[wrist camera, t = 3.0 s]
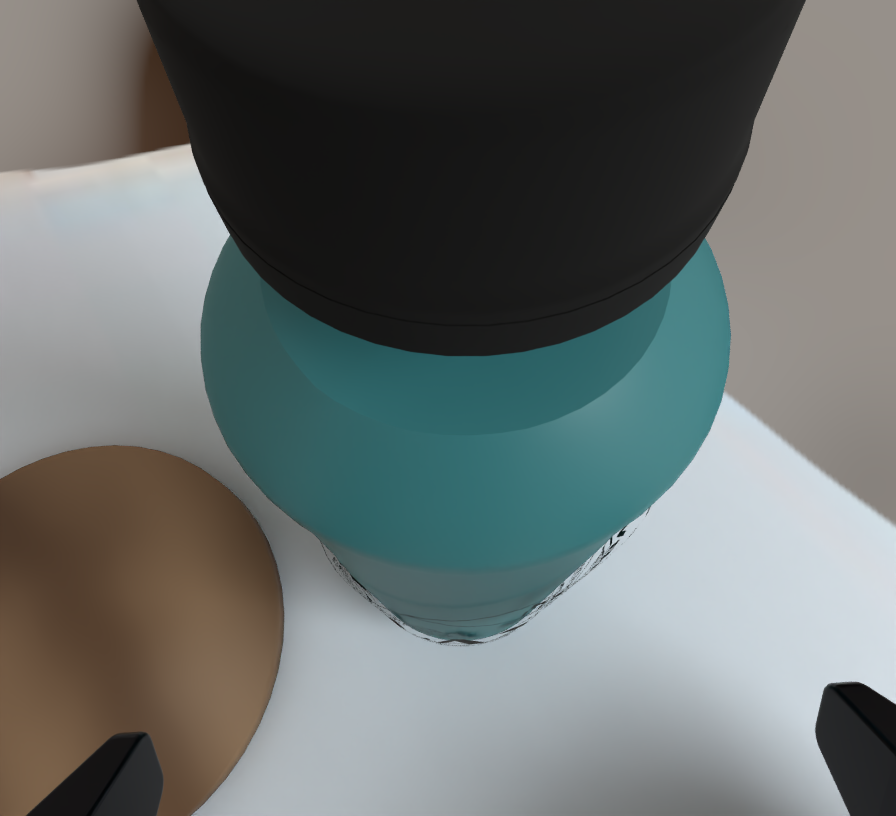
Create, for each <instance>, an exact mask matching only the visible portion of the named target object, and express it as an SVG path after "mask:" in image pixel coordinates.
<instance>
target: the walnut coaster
mask: <svg viewBox="0 0 896 816" xmlns="http://www.w3.org/2000/svg"><path fill="white" fill-rule="evenodd" d="M283 631H284V606H283V595H282V586H281V582H280V577H279V573H278V568H277V564H276V561H275V558H274V556H273V553H272V550H271V548H270V545H269V542H268V540H267V538H266V537H265V535H264V533H263V531H262V529H261V527H260V526H259V524H258V522H257V521H256V519H255V518H254V517H253V515H252V514H251V513H250V511H249V510H248V509H247V507H246V506H245V505H244V504H243V503H242V502H241V501H240V500H239V499H238V498H237V497H236V496H235V495H234V494H233V493H232V492H231V491H230V490H229V489H228V488H227V487H225V486H224V485H223V484H222V483H220V482H219V481H218V480H216V479H215V478H213V477H212V476H211V475H209V474H208V473H206V472H205V471H204V470H202V469H201V468H199V467H197V466H195V465H193V464H191V463H189V462H187V461H185V460H183V459H182V458H179V457H176V456H173V455H170V454H167V453H164V452H161V451H157V450H152V449H147V448H142V447H134V446H117V445H113V446H98V447H88V448H83V449H77V450H72V451H67V452H63V453H60V454H57V455H53V456H50V457H47V458H44V459H41V460H39V461H36V462H34V463H32V464H29V465H27V466H25V467H22V468H20V469H18V470H16V471H14V472H12V473H10V474H9V475H7V476H5V477H3V478H1V479H0V816H26V815H27V814H28V813H29V812H30V811H31V810H32V809H33V808H34V807H35V806H36V805H37V804H39V803H40V802H41V801H42V800H43V799H44V798H45V797H46V796H47V795H48V794H49V793H50V792H51V791H53V790H54V789H55V788H56V787H57V786H58V785H59V784H60V783H61V782H62V781H63V780H64V779H66V778H67V777H68V776H69V775H70V774H71V773H72V772H73V771H74V770H75V769H76V768H77V767H79V766H80V765H81V764H82V763H83V762H84V761H85V760H86V759H87V758H88V757H89V756H90V755H92V754H93V753H94V752H95V751H96V750H97V749H98V748H99V747H100V746H101V745H102V744H103V743H105V742H106V741H107V740H108V739H109V738H110V737H112V736H113V735H115V734H118V733H125V732H139V731H143V732H146V733H148V734H149V735H150V737H151V739H152V742H153V745H154V748H155V751H156V754H157V757H158V760H159V762H160V765H161V768H162V771H163V778H164V785H163V792H162V796H161V800H160V804H159V808H158V812H157V816H191V815H192V814H193V813H194V812H195V811H196V810H198V809H199V808H200V807H201V806H202V805H203V804H204V803H205V802H206V801H207V800H208V799H209V797H210V796H211V795H212V794H213V793H214V792H215V791H216V789H217V788H218V787H219V786H220V785H221V784H222V783H223V782H224V780H225V779H226V778H227V776H228V775H229V774H230V772H231V771H232V769H233V768H234V766H235V765H236V764H237V762H238V761H239V759H240V758H241V756H242V755H243V754H244V752H245V750H246V748H247V746H248V745H249V743H250V741H251V739H252V737H253V735H254V734H255V732H256V730H257V728H258V726H259V724H260V722H261V719H262V717H263V714H264V712H265V710H266V707H267V705H268V702H269V700H270V697H271V694H272V690H273V687H274V683H275V680H276V676H277V673H278V669H279V663H280V657H281V651H282V645H283Z"/></svg>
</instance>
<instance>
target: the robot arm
mask: <svg viewBox="0 0 896 816" xmlns="http://www.w3.org/2000/svg"><path fill="white" fill-rule="evenodd" d="M815 733H816V739H817V742H818V746H819V748H820V750H821V753H822V755H823V757H824V759H825V761H826V764H827V766H828V768H829V770H830V772H831V775H832V777H833V779H834V781H835V783H836V785H837V788H838V790H839V792H840V794H841V796H842V799H843V801H844V803H845V805H846V807H847V810H848V812H849V814H850V816H896V704H894V703H893V702H891V701H890V700H888V699H887V698H885V697H884V696H882V695H880V694H879V693H877V692H876V691H874V690H873V689H871V688H870V687H868V686H866V685H864V684H862V683H860V682H840V683H830V684H828V685H827V686H826V687H825V688H824V691H823V695H822V699H821V704H820V708H819V712H818V717H817V721H816V727H815ZM163 785H164V778H163V771H162V768H161V765H160V762H159V760H158V757H157V754H156V751H155V748H154V745H153V742H152V739H151V737H150V735H149V734H148V733H146V732H143V731H139V732H125V733H118V734H115V735H113V736H112V737H110V738H109V739H108V740H107V741H106V742H105V743H103V744H102V745H101V746H100V747H99V748H98V749H97V750H96V751H95V752H94V753H93V754H92V755H90V756H89V757H88V758H87V759H86V760H85V761H84V762H83V763H82V764H81V765H80V766H79V767H77V768H76V769H75V770H74V771H73V772H72V773H71V774H70V775H69V776H68V777H67V778H66V779H64V780H63V781H62V782H61V783H60V784H59V785H58V786H57V787H56V788H55V789H54V790H53V791H51V792H50V793H49V794H48V795H47V796H46V797H45V798H44V799H43V800H42V801H41V802H40V803H39V804H37V805H36V806H35V807H34V808H33V809H32V810H31V811H30V812H29V813H28V814H27V815H26V816H157V812H158V808H159V804H160V800H161V796H162V792H163Z"/></svg>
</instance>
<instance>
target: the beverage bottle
mask: <svg viewBox="0 0 896 816" xmlns="http://www.w3.org/2000/svg"><path fill="white" fill-rule="evenodd" d="M805 1H806V0H137V2H138V4H139V7H140V10H141V12H142V15H143V17H144V20H145V22H146V24H147V27H148V29H149V32H150V34H151V37H152V39H153V42H154V44H155V46H156V49H157V51H158V54H159V56H160V59H161V61H162V63H163V66H164V69H165V71H166V73H167V76H168V78H169V81H170V83H171V86H172V88H173V91H174V93H175V95H176V98H177V100H178V103H179V105H180V108H181V110H182V113H183V115H184V117H185V120H186V122H187V128H188V133H189V138H190V143H191V148H192V153H193V156H194V159H195V162H196V164H197V167H198V170H199V172H200V175H201V177H202V180H203V183H204V185H205V186H206V189H207V192H208V194H209V196H210V198H211V200H212V202H213V204H214V205H215V207H216V209H217V211H218V213H219V215H220V217H221V219H222V220H223V222H224V224H225V226H226V228H227V230H228V232H229V233H230V236H229V238H228V239H227V241H226V243H225V244H224V246H223V248H222V251H221V253H220V255H219V258H218V260H217V262H216V264H215V267H214V269H213V271H212V275H211V278H210V281H209V285H208V288H207V292H206V295H205V300H204V306H203V313H202V320H201V362H202V369H203V376H204V382H205V389H206V392H207V395H208V399H209V402H210V405H211V408H212V412H213V415H214V418H215V420H216V422H217V424H218V427H219V429H220V431H221V433H222V435H223V437H224V439H225V442H226V444H227V446H228V447H229V449H230V450H231V452H232V453H233V455H234V456H235V458H236V459H237V461H238V462H239V464H240V465H241V467H242V468H243V470H244V471H245V472H246V474H247V475H248V476H249V477H250V478H251V479H252V481H253V482H254V483H255V484H256V485H257V486H258V487H259V488H260V490H261V491H262V492H263V493H264V494H265V495H266V496H267V498H268V499H269V500H271V501H272V502H273V503H274V504H275V505H276V506H277V507H279V508H280V509H281V510H282V511H284V512H285V513H286V514H287V515H288V516H290V517H291V518H292V519H293V520H294V521H296V522H297V523H298V524H299V525H301V526H303V527H304V528H306V529H307V530H309V531H310V532H312V533H313V534H314V535H315V536H316V537H317V538H318V539H319V540H320V542H322V543H323V544H324V545H325V546H326V547H327V548H328V549H329V550H330V551H331V552H332V553H333V554H334V555H335V556H336V557H337V559H338V560H339V562H340V564H342V566H344V567H345V569H346V570H347V571H348V572H349V573H350V575H351V577H352V579H354V580H355V581H356V582H357V583H358V584H359V585H360V586H361V588H362V587H363V588H364V589H365V590H366V589H367V590H368V591H369V592H370V593H371V594H372V595H373V596H374V597H375V598H376V599H378V600H379V601H380V602H381V603H382V604H383V605H384V606H385V607H386V608H387V609H388V610H389V611H390V612H392V613H393V614H394V615H395V616H396V617H397V618H399V619H400V620H401V621H402V622H404V624H406V625H407V626H410V627H411V628H412V629H415V630H417V631H419V632H421V633H424V634H426V635H428V636H432V637H436V638H439V639H445V640H448V641H442V642H438V643H440V644H441V643H445V644H446V643H449V642H452V641H458V642H462V643H465V644H468V646H469V645H470V644H477V643H483V642H478V641H470V640H476V639H482V638H486V637H489V636H493V635H496V634H498V633H499V634H501V633H500V632H502V631H505V630H506V629H508V628H510V627H512V626H513V625H515V624H516V623H518V622H519V621H520V620H522V619H523V618H524V617H525V616H527V615H528V614H530V612H531V611H532V610H533V609H535V607H536V606H538V605H540V604H543V605H544V603H545V604H546V603H547V602H548V601H547V600H546V602H545V601H544V602H542V601H543V600H545V598H546V597H547V596H548V595H549V594H553V593H552V592H554V590H555V589H556V588H557V587H558V586H559V585H560V584H561V583H563V582H564V581H565V580H566V579H567V578H568V577H569V576H570V575H571V574H572V573H573V572H575V571H576V570H577V569H578V568H579V567H580V566H581V565H583V563H584V562H586V561H587V560H588V559H589V558H590V557H591V556H592V555H593V554H595V553H596V552H597V551H598V550H599V549H600V548H601V547H602V546H603V545H604V544H605V543H607V541H608V540H609V539H610V546H611V544H612V536H613V535H614V534H615V533H617V532H618V531H620V530H621V529H622V528H623V529H622V530H621V531H620V532H619V534H618V536H617V537H620V536H623V535H624V533H625V531H626V530H625V531H623V530H624V529H625V527H626V526H627V525H628V524H629V523H631V522H632V521H634V520H635V519H636V518H638V517H639V516H641V515H642V514H643V513H644V512H645V511H646V510H647V509H648V508H649V507H651V505H652V504H653V503H654V502H655V501H657V500H658V499H659V498H660V497H661V496H662V495H663V494H664V493H665V492H666V491H667V490H668V489H669V488H670V487H671V486H672V485H673V484H674V483H675V481H676V480H677V479H678V478H679V476H680V475H681V474H682V473H683V471H684V470H685V469H686V468H687V466H688V465H689V464H690V463H691V461H692V460H693V459H694V457H695V455H696V454H697V452H698V450H699V448H700V447H701V445H702V443H703V442H704V440H705V438H706V436H707V435H708V433H709V431H710V429H711V426H712V424H713V421H714V419H715V416H716V414H717V411H718V409H719V406H720V403H721V400H722V396H723V392H724V387H725V383H726V378H727V373H728V367H729V355H730V339H731V333H730V332H731V331H730V320H729V309H728V302H727V298H726V293H725V289H724V285H723V280H722V276H721V274H720V271H719V268H718V266H717V263H716V260H715V258H714V255H713V253H712V250H711V248H710V246H709V244H708V243H707V241H706V239H705V237H706V235H707V233H708V232H709V230H710V228H711V227H712V225H713V223H714V221H715V220H716V218H717V216H718V214H719V212H720V211H721V209H722V207H723V205H724V203H725V202H726V200H727V198H728V196H729V194H730V193H731V191H732V188H733V186H734V183H735V182H736V180H737V177H738V175H739V172H740V170H741V167H742V165H743V162H744V160H745V157H746V155H747V152H748V148H749V144H750V139H751V134H752V129H753V124H754V120H755V117H756V115H757V113H758V110H759V108H760V106H761V103H762V101H763V98H764V96H765V94H766V92H767V89H768V87H769V85H770V82H771V80H772V78H773V75H774V73H775V71H776V68H777V66H778V64H779V61H780V59H781V57H782V54H783V51H784V50H785V47H786V45H787V43H788V40H789V38H790V36H791V33H792V31H793V29H794V26H795V24H796V22H797V19H798V17H799V15H800V12H801V10H802V8H803V5H804V3H805ZM649 509H650V508H649ZM648 511H649V510H648ZM647 513H648V512H647ZM646 515H647V514H646ZM645 517H646V516H645ZM622 531H623V532H622ZM634 531H635V530H634ZM630 536H631V535H630ZM630 536H629V537H630ZM618 541H619V540H618ZM618 541H617V542H616V543H615V544H613V545H612V546H611V547H610V550H611V548H612V547H613V546H614V545H616V544H617V543H618ZM322 543H321V544H322ZM622 544H623V543H622ZM622 544H621V545H622ZM322 546H323V545H322ZM614 547H615V546H614ZM614 547H613V548H614ZM613 548H612V549H613ZM323 549H324V547H323ZM608 549H609V548H608ZM608 549H607V550H608ZM603 550H604V547H603V549H602V551H603ZM610 550H609V551H610ZM324 551H325V550H324ZM610 552H611V551H610ZM610 552H609V553H610ZM325 553H326V552H325ZM601 553H602V555H603V554H606V553H607V552H606V553H604V551H603V552H601ZM609 553H607V554H606V555H605V556H607V555H608V554H609ZM326 555H327V554H326ZM602 555H601V554H600V556H602ZM605 556H603V557H602V559H603V558H604V557H605ZM592 557H593V556H592ZM334 558H335V557H334ZM334 558H333V559H334ZM328 559H329V558H328ZM600 559H601V558H600ZM600 559H599V560H600ZM602 559H601V560H602ZM334 560H336V559H334ZM334 560H333V561H334ZM590 560H591V559H590ZM597 560H598V558H597ZM597 560H596V561H597ZM599 560H598V561H599ZM601 560H600V562H601ZM600 562H599V563H600ZM334 563H335V562H334ZM588 563H589V562H588ZM595 563H596V562H594V563H593V565H594V564H595ZM599 563H598V564H599ZM602 563H603V562H602ZM331 564H332V563H331ZM336 564H337V563H336ZM336 564H335V565H336ZM598 564H597V565H598ZM597 565H595V566H594V567H596V566H597ZM337 566H338V565H337ZM586 566H587V565H586ZM598 566H599V565H598ZM333 567H334V566H333ZM339 567H341V566H340V565H339ZM594 567H593V568H594ZM342 568H343V567H342ZM342 568H340V569H342ZM590 568H591V567H590ZM593 568H592V569H593ZM345 569H344V570H345ZM580 569H581V568H580ZM580 569H578V570H580ZM584 569H585V568H584ZM594 569H595V568H594ZM335 570H336V569H335ZM578 570H577V571H578ZM340 572H341V571H340ZM342 572H343V571H342ZM578 572H579V571H578ZM578 572H576V573H578ZM579 573H580V572H579ZM581 573H582V572H581ZM574 574H575V573H574ZM585 574H586V573H585ZM585 574H584V575H585ZM339 575H340V574H339ZM343 575H344V574H343ZM347 575H348V574H347ZM578 577H579V576H578ZM574 578H575V577H573V579H574ZM345 579H346V578H345ZM347 579H348V578H347ZM571 579H572V578H571ZM576 580H577V579H576ZM579 580H581V579H579ZM345 582H346V581H345ZM350 582H351V580H350ZM569 582H570V581H569ZM572 582H573V581H571V583H572ZM346 583H347V582H346ZM571 583H570V584H571ZM352 585H353V584H352ZM356 585H357V584H356ZM563 585H564V583H563V584H561V585H560V586H563ZM571 585H572V584H571ZM573 585H574V583H573ZM573 585H572V586H573ZM349 586H350V585H349ZM352 587H353V586H352ZM568 587H569V585H568V586H566V589H567V588H568ZM353 588H354V587H353ZM358 588H359V587H358ZM561 588H562V587H560V589H561ZM558 589H559V588H558ZM566 589H565V590H566ZM568 589H570V587H569V588H568ZM367 590H366V591H367ZM565 590H564V591H565ZM561 591H562V592H564V591H563V590H561ZM361 592H362V591H361ZM559 592H560V590H559ZM562 592H561V593H559V594H558V593H557V594H558V595H556V594H554V596H553V595H552V596H553V597H554V598H555V597H558V596H559V595H562ZM565 592H566V591H565ZM366 595H367V594H366ZM555 595H556V596H555ZM363 597H365V596H363ZM367 597H368V596H367ZM368 598H369V597H368ZM368 598H367V599H368ZM548 598H549V597H548ZM551 598H552V597H551ZM554 598H553V599H554ZM369 599H370V598H369ZM369 599H368V601H369V602H371V601H372V600H371V599H370V600H371V601H370V600H369ZM546 599H547V598H546ZM553 599H551V601H552V600H553ZM555 599H557V598H555ZM555 599H554V600H555ZM373 600H374V599H373ZM548 600H549V599H548ZM541 602H542V603H541ZM371 603H372V602H371ZM373 603H374V602H373ZM375 603H376V601H375ZM549 603H550V602H548V604H549ZM551 603H552V602H551ZM543 605H541V606H543ZM549 605H550V604H549ZM377 606H378V607H379V605H377ZM541 606H539V608H538V609H539V610H540V608H541ZM380 607H381V606H380ZM383 608H384V607H383ZM386 608H385V609H386ZM542 608H543V607H542ZM542 608H541V609H542ZM545 608H546V607H545ZM545 608H544V609H545ZM380 609H381V608H380ZM380 609H379V610H380ZM382 611H383V610H382ZM537 611H538V610H537ZM538 612H539V611H538ZM538 612H537V613H536V614H538ZM540 612H541V611H540ZM536 614H535V616H536ZM390 616H391V615H390ZM395 616H394V617H395ZM387 617H388V614H387ZM391 617H392V616H391ZM394 617H392V618H394ZM396 617H395V618H396ZM388 618H389V617H388ZM395 618H394V620H395ZM390 619H391V618H390ZM528 619H530V618H528ZM391 620H392V621H393V622H395V623H396V624H397V625H399V624H398V623H397V622H396V621H394V620H393V619H391ZM530 620H531V619H530ZM523 622H524V621H523ZM523 622H522V623H523ZM526 623H527V622H526ZM526 623H524V624H526ZM524 624H522V625H520V626H523V625H524ZM402 625H403V624H402ZM399 626H400V627H402V626H401V625H399ZM520 626H517V627H515V628H512V629H510V630H507V631H505V632H508V631H512V630H513V632H514V630H515V629H517V628H518V627H520ZM402 628H403V627H402ZM403 629H404V628H403ZM517 630H518V629H517ZM505 632H503V633H505ZM414 635H415V634H414ZM505 635H506V634H505ZM505 635H503V636H505ZM508 635H509V634H508ZM415 636H416V635H415ZM421 638H422V637H421ZM499 638H500V637H499ZM501 638H503V637H502V636H501ZM424 639H427V640H428V641H429V640H430V639H428V638H424ZM497 639H498V638H497ZM497 639H496V640H497ZM494 640H495V639H494ZM490 641H491V640H490ZM432 642H433V641H432ZM434 642H435V641H434ZM485 643H486V642H485ZM485 643H484V644H485ZM441 645H442V644H441ZM446 645H447V644H446ZM480 645H481V644H480ZM454 646H455V645H454ZM456 646H457V645H456ZM458 646H459V645H458ZM460 646H461V645H460ZM462 646H463V645H462ZM464 646H465V645H464ZM466 646H467V645H466ZM472 646H473V645H472Z"/></svg>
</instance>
